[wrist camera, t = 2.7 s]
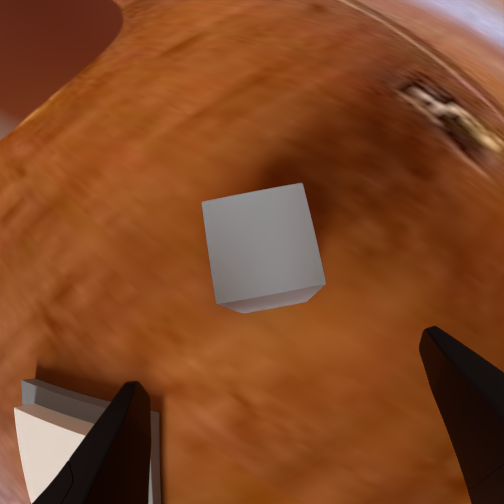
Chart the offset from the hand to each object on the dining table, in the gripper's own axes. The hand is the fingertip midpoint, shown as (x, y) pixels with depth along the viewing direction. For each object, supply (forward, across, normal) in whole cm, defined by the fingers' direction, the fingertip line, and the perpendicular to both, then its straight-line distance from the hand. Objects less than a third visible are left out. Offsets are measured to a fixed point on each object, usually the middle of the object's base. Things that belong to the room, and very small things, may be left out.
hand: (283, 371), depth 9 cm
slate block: (+11, 0, +5) cm, 12 cm away
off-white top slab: (+1, +16, +13) cm, 21 cm away
